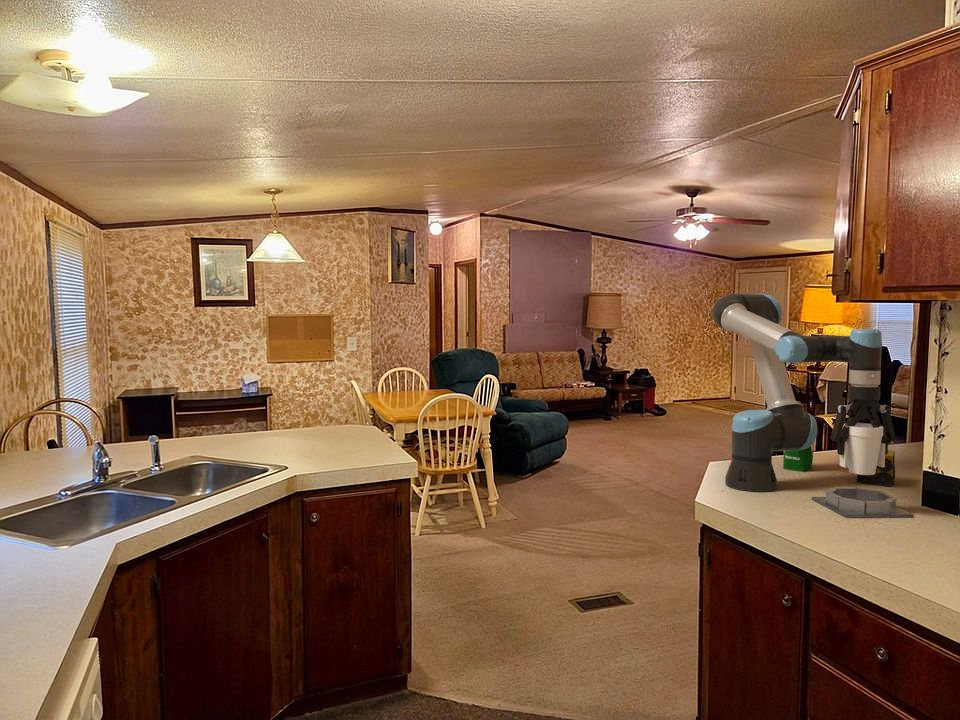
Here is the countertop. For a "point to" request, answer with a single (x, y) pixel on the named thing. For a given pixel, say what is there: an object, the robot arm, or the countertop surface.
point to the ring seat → (861, 503)
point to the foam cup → (863, 448)
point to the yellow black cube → (881, 473)
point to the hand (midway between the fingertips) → (861, 466)
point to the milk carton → (798, 459)
